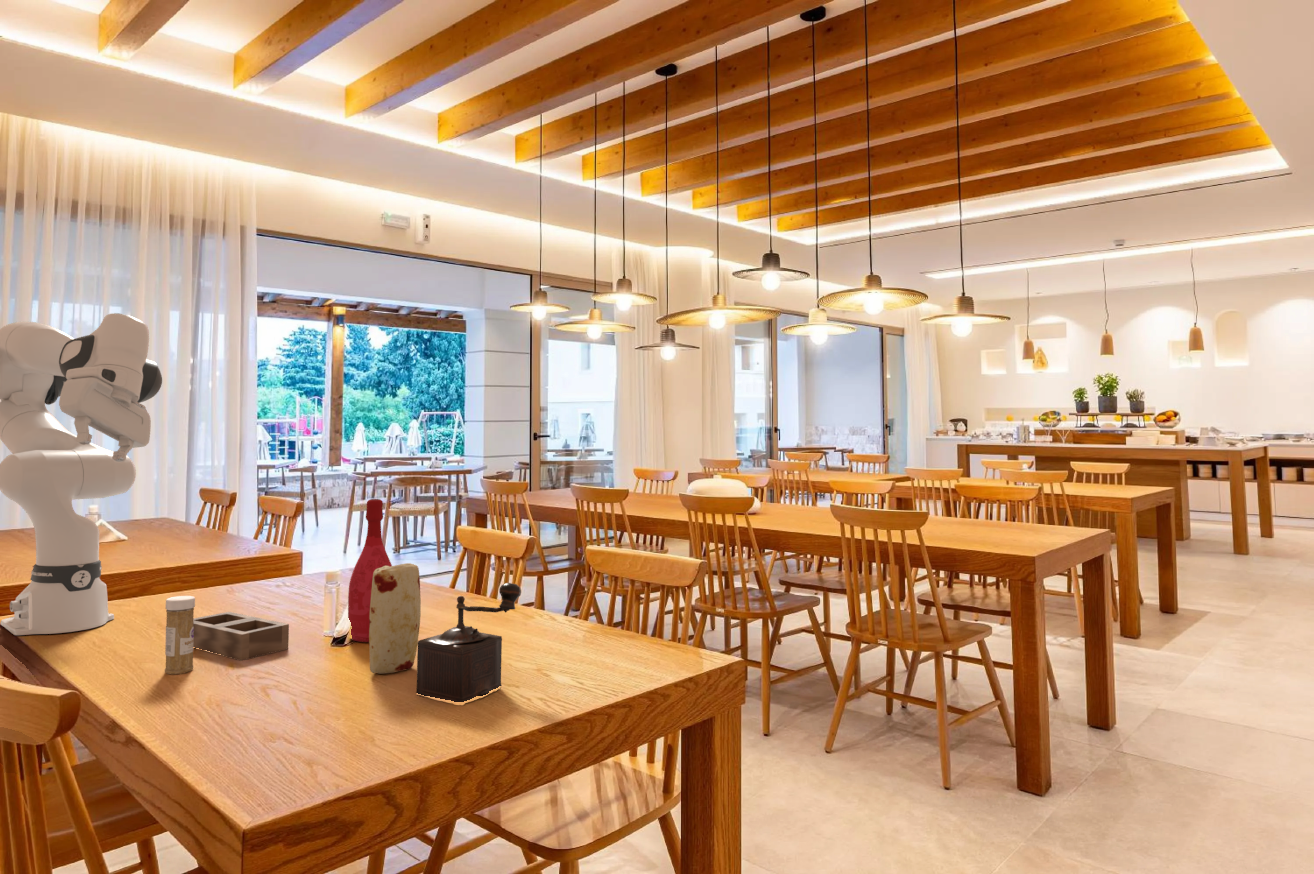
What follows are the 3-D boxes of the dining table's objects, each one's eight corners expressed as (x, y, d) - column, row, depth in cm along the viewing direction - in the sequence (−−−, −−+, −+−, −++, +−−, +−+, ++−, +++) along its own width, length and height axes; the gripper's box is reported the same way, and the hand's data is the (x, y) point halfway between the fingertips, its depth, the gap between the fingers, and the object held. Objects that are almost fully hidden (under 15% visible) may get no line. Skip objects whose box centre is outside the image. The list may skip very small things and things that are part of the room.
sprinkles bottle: (194, 672, 140) (195, 598, 140) (164, 676, 138) (166, 600, 138) (192, 666, 144) (194, 594, 144) (163, 669, 142) (165, 596, 142)
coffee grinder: (463, 707, 125) (466, 596, 125) (414, 695, 130) (416, 589, 131) (524, 682, 139) (526, 582, 139) (477, 672, 144) (479, 575, 144)
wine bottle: (337, 640, 164) (340, 499, 164) (370, 630, 173) (373, 496, 173) (373, 646, 160) (376, 501, 160) (405, 635, 169) (408, 498, 170)
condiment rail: (181, 645, 158) (181, 620, 158) (228, 634, 167) (229, 611, 167) (241, 660, 148) (241, 634, 148) (288, 648, 157) (288, 624, 157)
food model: (378, 680, 138) (381, 568, 138) (359, 672, 142) (362, 564, 142) (426, 669, 145) (429, 562, 145) (407, 661, 150) (409, 558, 150)
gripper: (134, 410, 164) (123, 471, 159) (59, 366, 145) (43, 434, 140) (163, 407, 164) (153, 468, 159) (92, 362, 145) (78, 430, 140)
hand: (101, 452), depth 149 cm, fingers open, 8 cm apart
